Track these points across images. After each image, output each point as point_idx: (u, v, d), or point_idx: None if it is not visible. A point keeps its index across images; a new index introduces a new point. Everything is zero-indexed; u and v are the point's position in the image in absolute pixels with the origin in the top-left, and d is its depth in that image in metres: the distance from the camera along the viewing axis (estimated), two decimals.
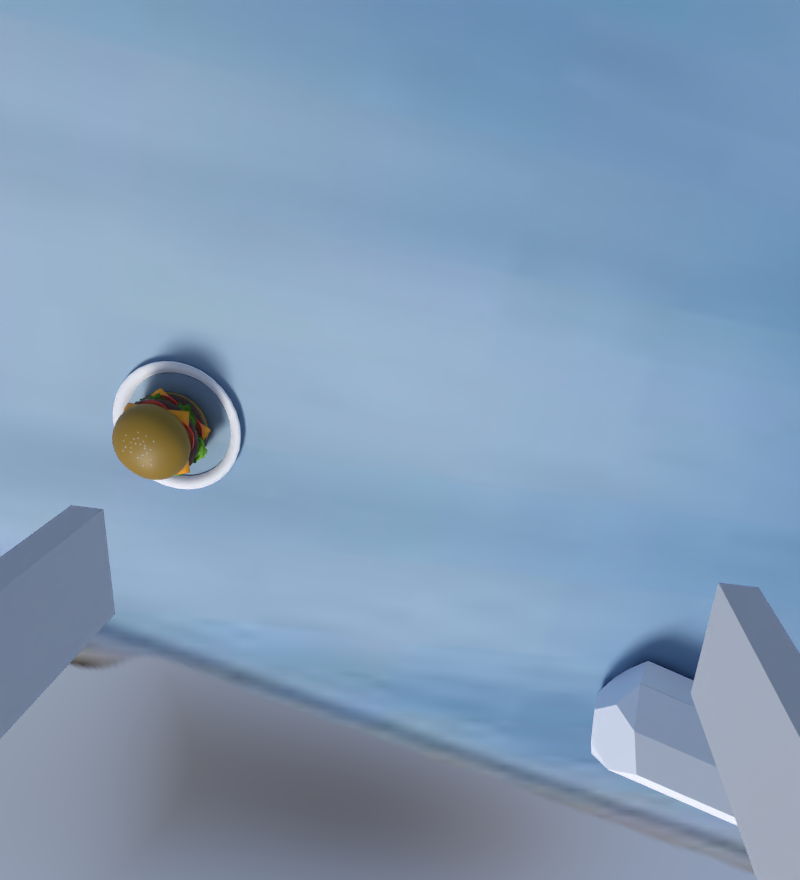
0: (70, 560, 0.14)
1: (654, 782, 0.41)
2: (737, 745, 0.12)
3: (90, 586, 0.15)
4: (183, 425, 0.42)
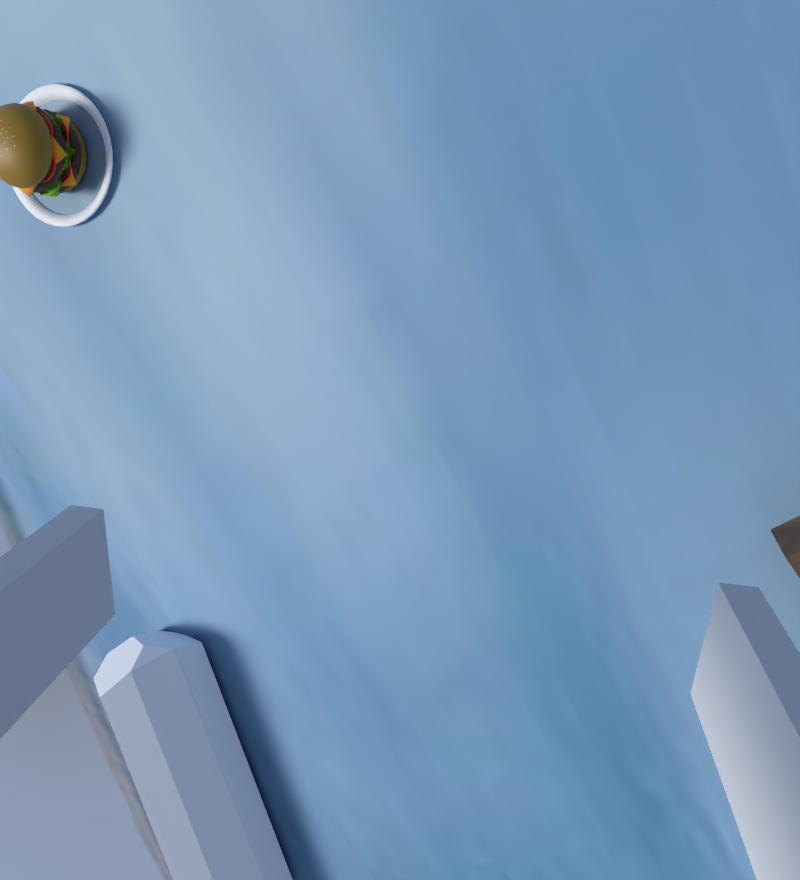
0: (70, 560, 0.14)
1: (107, 713, 0.46)
2: (737, 744, 0.12)
3: (90, 586, 0.15)
4: (52, 159, 0.43)
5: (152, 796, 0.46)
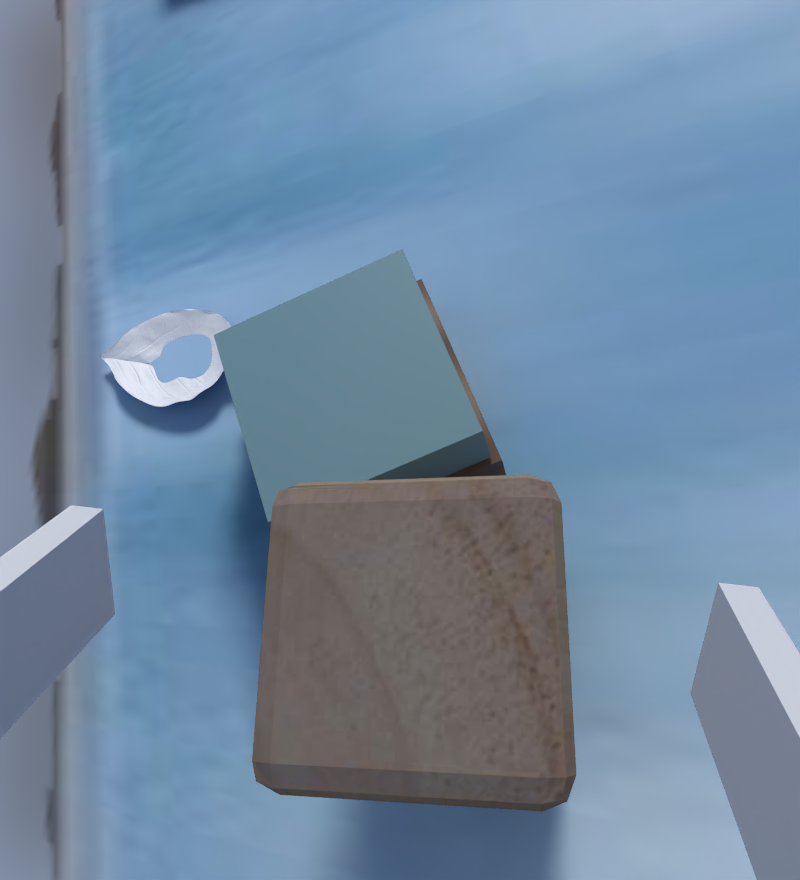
0: (70, 560, 0.14)
1: None
2: (737, 744, 0.12)
3: (90, 586, 0.15)
4: None
5: None
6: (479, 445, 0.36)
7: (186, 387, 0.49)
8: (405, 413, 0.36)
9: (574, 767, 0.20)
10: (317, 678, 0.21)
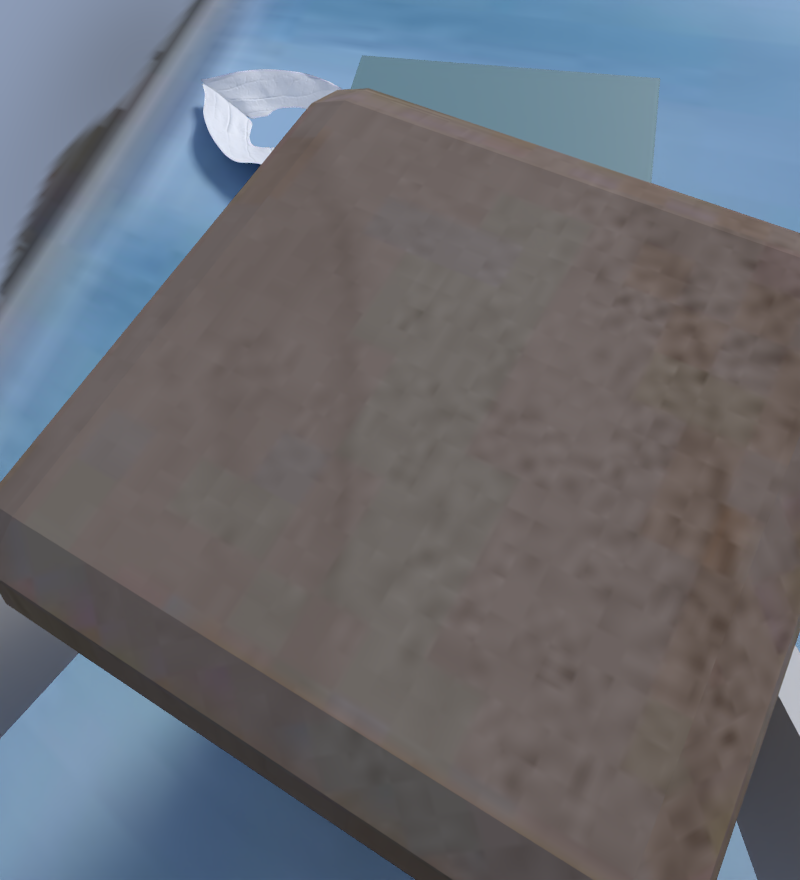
0: None
1: None
2: None
3: None
4: None
5: None
6: None
7: None
8: None
9: None
10: (214, 405, 0.09)
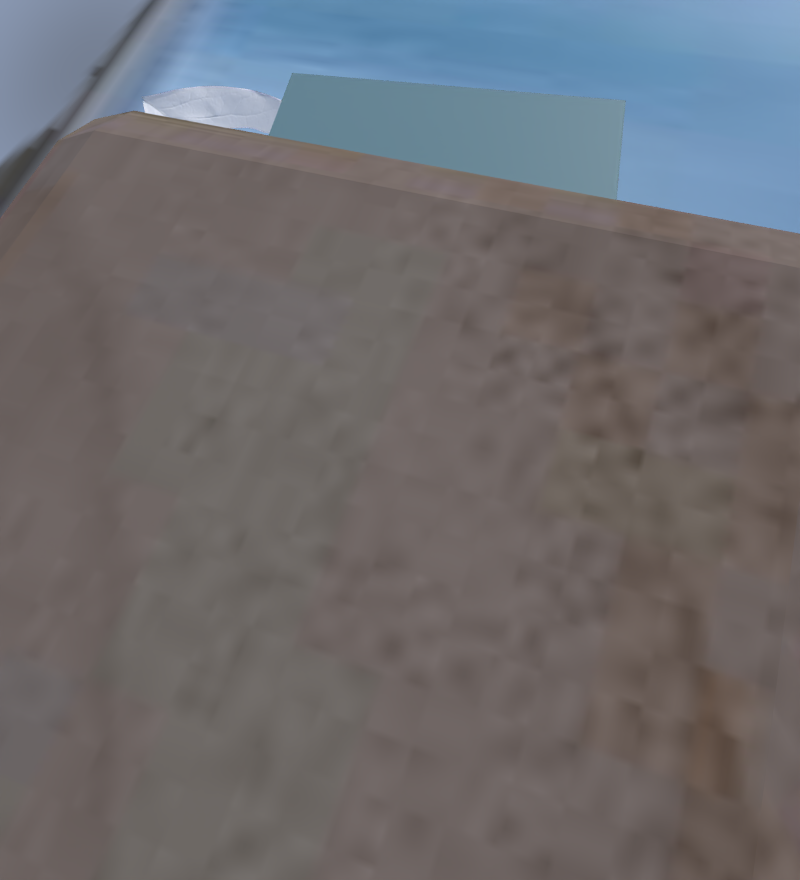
0: None
1: None
2: None
3: None
4: None
5: None
6: None
7: None
8: None
9: None
10: None
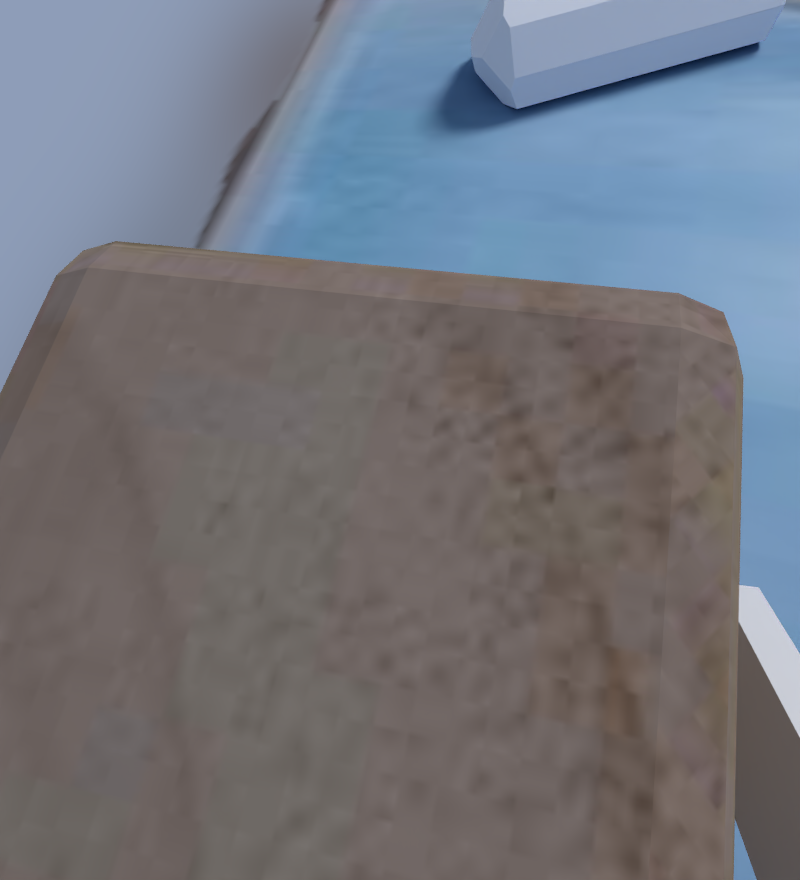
0: None
1: None
2: (737, 745, 0.12)
3: None
4: None
5: None
6: None
7: None
8: None
9: None
10: (9, 697, 0.07)
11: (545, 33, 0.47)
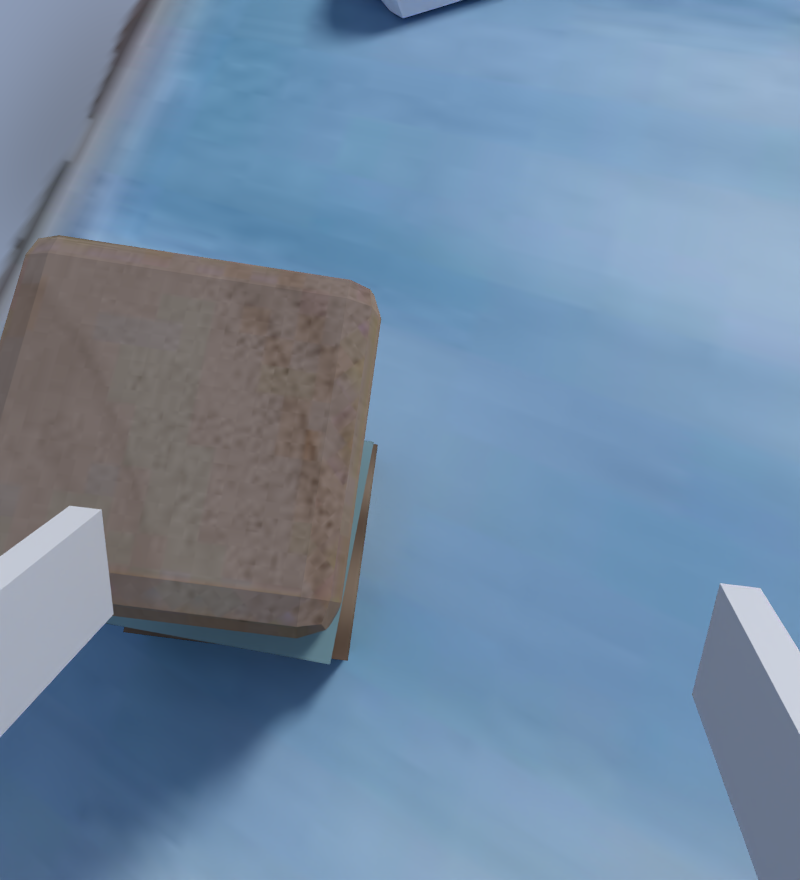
0: (69, 560, 0.14)
1: None
2: (739, 746, 0.12)
3: (88, 586, 0.15)
4: None
5: None
6: None
7: None
8: None
9: (341, 595, 0.18)
10: (47, 461, 0.17)
11: None
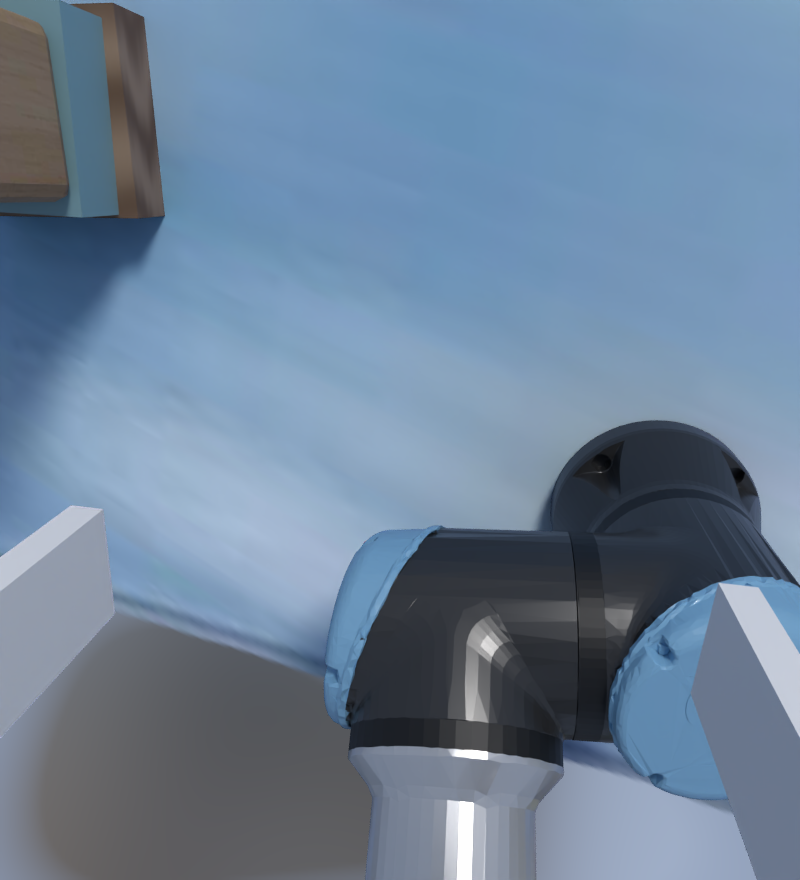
0: (70, 560, 0.14)
1: None
2: (737, 745, 0.12)
3: (90, 586, 0.15)
4: None
5: None
6: None
7: None
8: None
9: None
10: None
11: None
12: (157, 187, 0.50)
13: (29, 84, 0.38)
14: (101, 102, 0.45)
